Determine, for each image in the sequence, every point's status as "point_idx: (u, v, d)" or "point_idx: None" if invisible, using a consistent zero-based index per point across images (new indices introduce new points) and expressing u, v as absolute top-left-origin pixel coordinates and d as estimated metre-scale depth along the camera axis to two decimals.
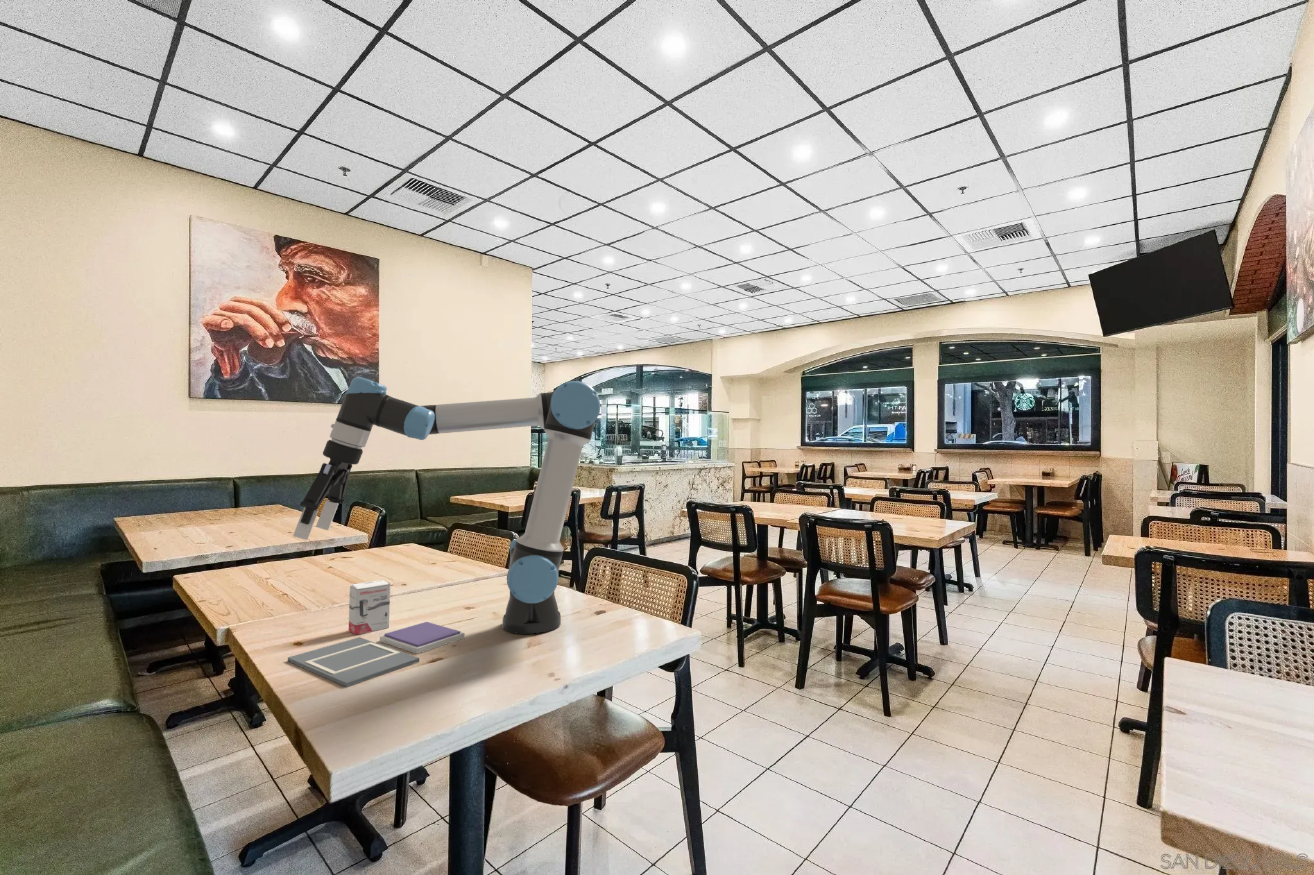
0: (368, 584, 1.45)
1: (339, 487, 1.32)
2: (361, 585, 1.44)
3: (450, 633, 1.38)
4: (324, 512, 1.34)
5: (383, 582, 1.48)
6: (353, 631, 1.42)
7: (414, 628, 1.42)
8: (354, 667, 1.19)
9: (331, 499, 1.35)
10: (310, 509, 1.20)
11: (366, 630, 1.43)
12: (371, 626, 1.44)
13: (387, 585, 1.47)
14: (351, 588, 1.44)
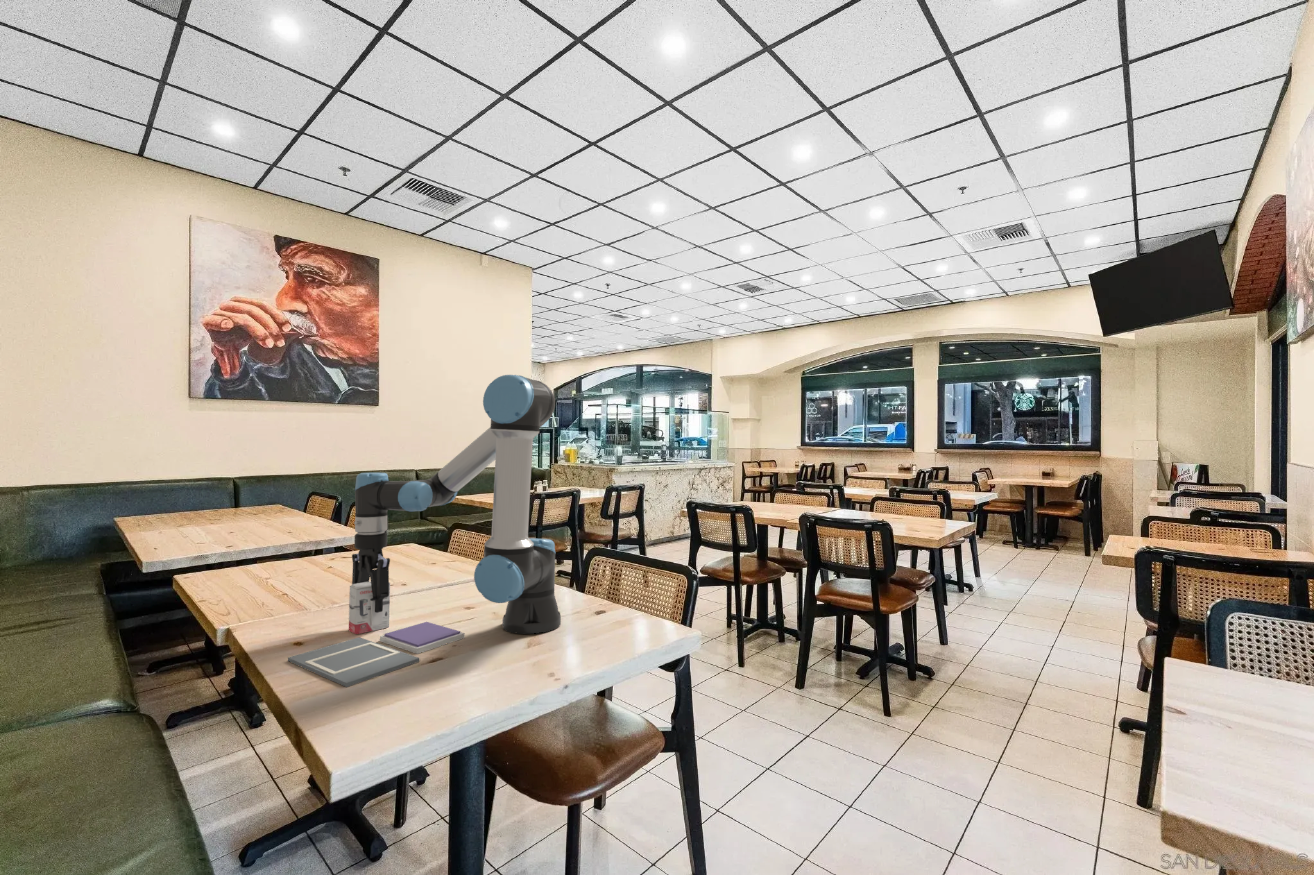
0: (368, 584, 1.46)
1: (369, 574, 1.48)
2: (361, 585, 1.44)
3: (450, 633, 1.38)
4: None
5: None
6: (353, 631, 1.42)
7: (414, 628, 1.42)
8: (354, 667, 1.19)
9: None
10: (381, 599, 1.44)
11: (366, 630, 1.43)
12: None
13: None
14: (351, 588, 1.44)
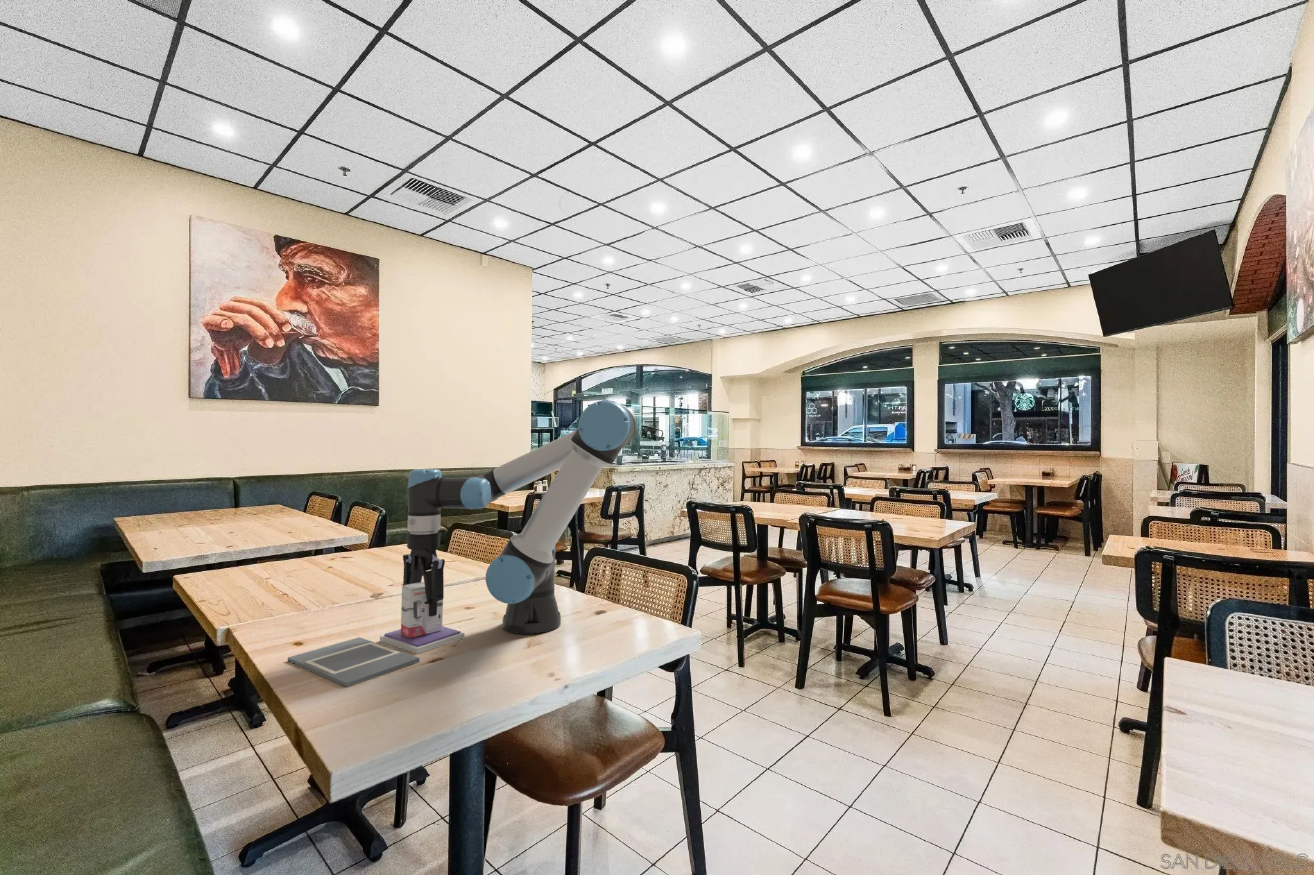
0: (421, 584, 1.38)
1: (421, 575, 1.41)
2: (414, 585, 1.37)
3: (450, 633, 1.38)
4: None
5: None
6: (407, 634, 1.35)
7: None
8: (354, 667, 1.19)
9: None
10: (436, 602, 1.37)
11: (420, 633, 1.36)
12: None
13: None
14: (403, 589, 1.36)
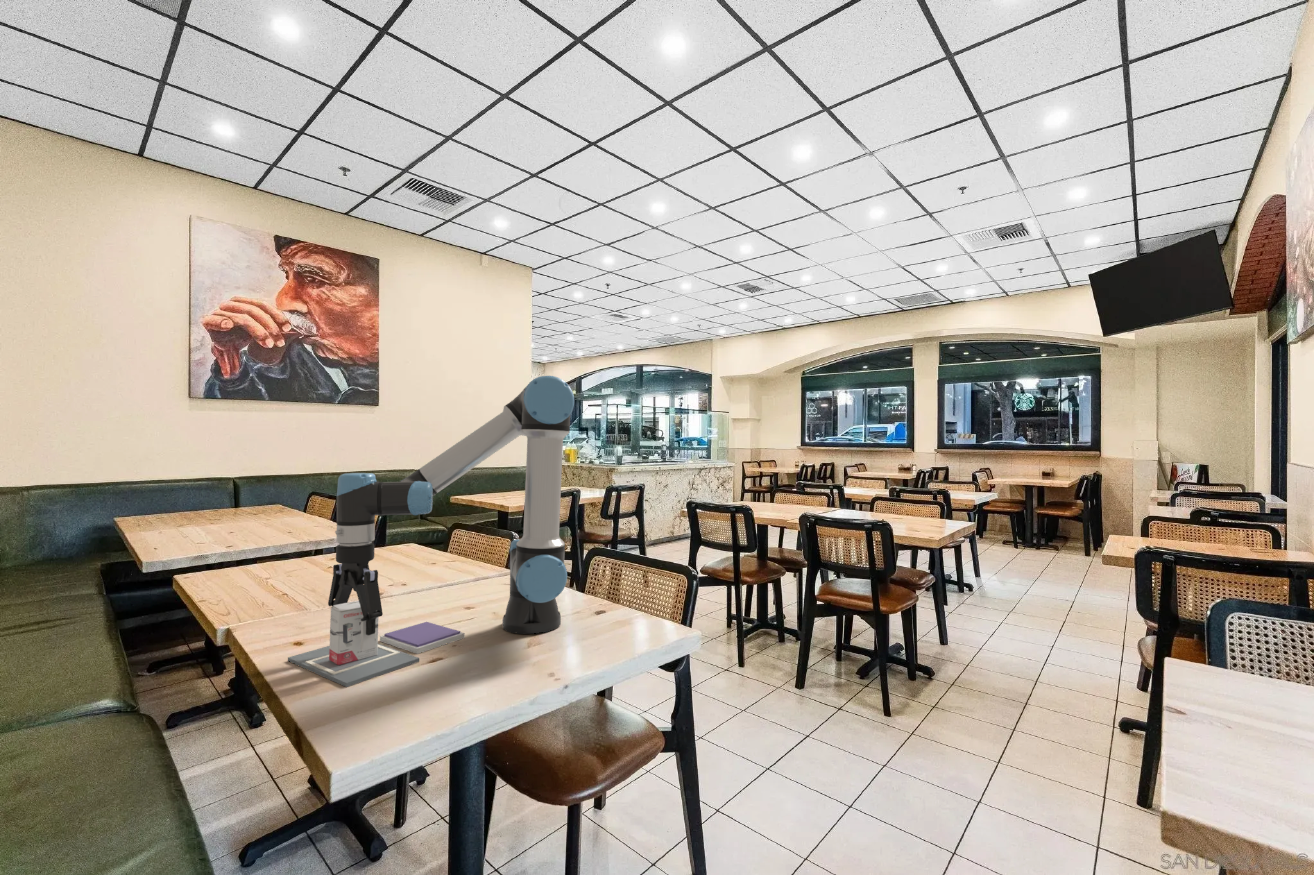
0: (353, 605, 1.24)
1: (351, 589, 1.27)
2: (344, 606, 1.23)
3: (450, 633, 1.38)
4: None
5: None
6: (335, 661, 1.20)
7: (414, 628, 1.42)
8: (354, 667, 1.19)
9: None
10: (374, 619, 1.21)
11: (350, 659, 1.22)
12: (357, 654, 1.23)
13: None
14: (332, 610, 1.22)
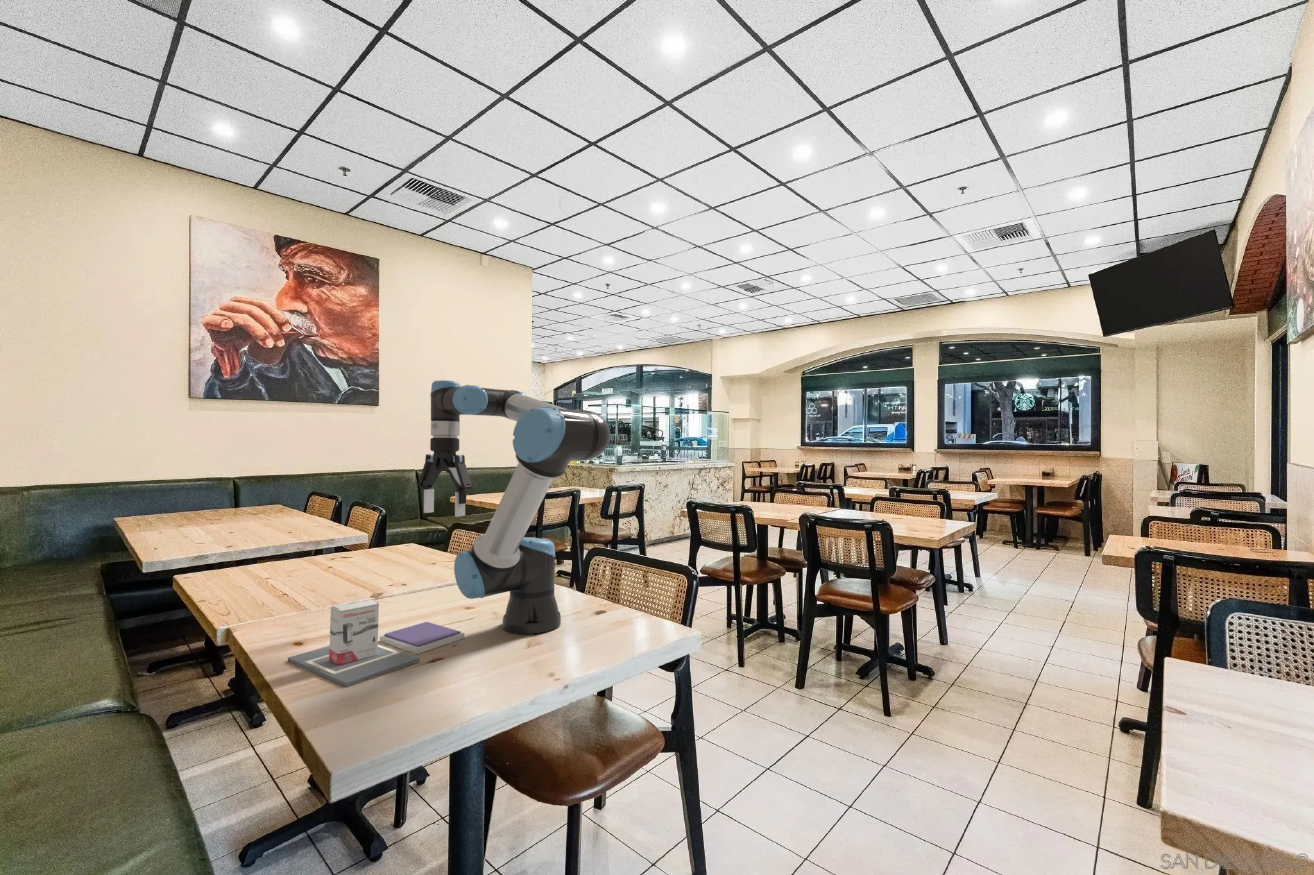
0: (353, 605, 1.24)
1: (438, 474, 1.59)
2: (344, 606, 1.23)
3: (450, 633, 1.38)
4: (427, 499, 1.59)
5: (370, 602, 1.26)
6: (335, 661, 1.20)
7: (414, 628, 1.42)
8: (354, 667, 1.19)
9: (426, 487, 1.59)
10: (465, 491, 1.51)
11: (350, 659, 1.22)
12: (357, 654, 1.23)
13: (375, 605, 1.26)
14: (332, 610, 1.22)
